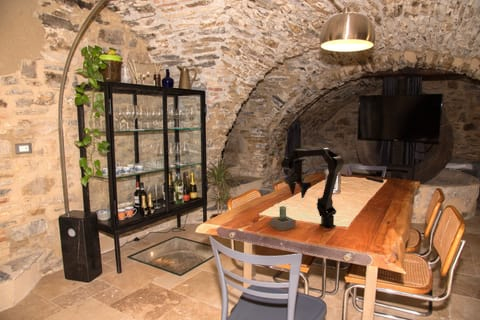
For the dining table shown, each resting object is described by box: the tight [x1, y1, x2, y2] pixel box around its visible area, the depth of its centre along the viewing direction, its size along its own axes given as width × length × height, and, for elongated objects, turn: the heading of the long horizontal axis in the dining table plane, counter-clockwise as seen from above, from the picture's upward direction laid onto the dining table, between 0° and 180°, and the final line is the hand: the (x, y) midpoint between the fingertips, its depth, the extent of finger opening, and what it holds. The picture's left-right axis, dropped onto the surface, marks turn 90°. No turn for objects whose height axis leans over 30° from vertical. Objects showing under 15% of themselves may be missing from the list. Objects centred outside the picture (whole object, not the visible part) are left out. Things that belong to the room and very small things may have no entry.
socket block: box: [269, 215, 297, 232], centre depth 178 cm, size 10×10×4 cm
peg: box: [279, 205, 287, 221], centre depth 178 cm, size 4×4×10 cm
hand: (297, 196), depth 191 cm, fingers open, 9 cm apart
